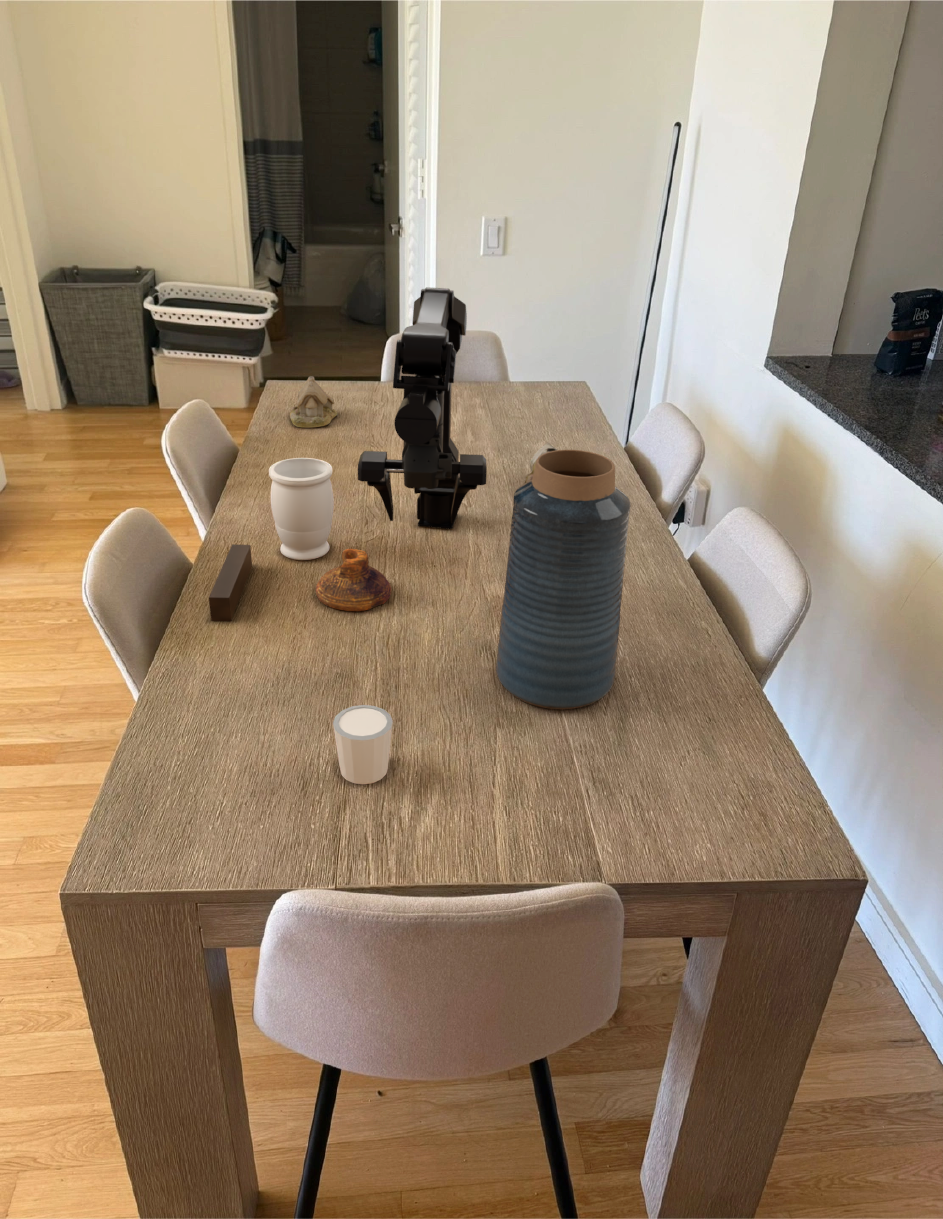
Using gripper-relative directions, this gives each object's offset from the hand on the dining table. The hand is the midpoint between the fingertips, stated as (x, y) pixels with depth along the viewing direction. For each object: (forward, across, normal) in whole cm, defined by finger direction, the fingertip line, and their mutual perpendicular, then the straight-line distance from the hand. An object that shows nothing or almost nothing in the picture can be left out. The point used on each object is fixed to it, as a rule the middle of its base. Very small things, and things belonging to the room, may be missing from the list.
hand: (422, 521), depth 144 cm
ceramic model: (+13, -29, +85) cm, 91 cm away
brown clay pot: (+13, -11, 0) cm, 17 cm away
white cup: (+13, -5, -43) cm, 45 cm away
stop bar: (+13, -30, 0) cm, 32 cm away
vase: (+13, +19, -22) cm, 32 cm away
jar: (+13, -20, +15) cm, 29 cm away
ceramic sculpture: (+13, +24, +47) cm, 54 cm away
